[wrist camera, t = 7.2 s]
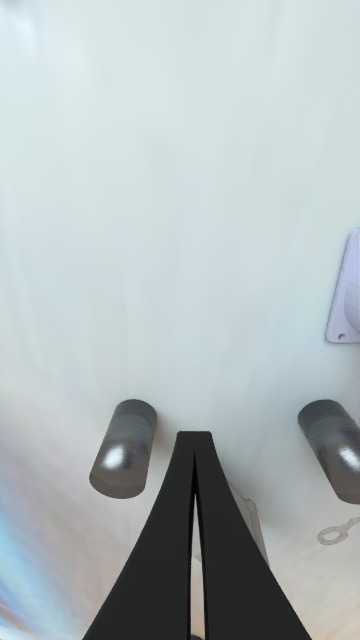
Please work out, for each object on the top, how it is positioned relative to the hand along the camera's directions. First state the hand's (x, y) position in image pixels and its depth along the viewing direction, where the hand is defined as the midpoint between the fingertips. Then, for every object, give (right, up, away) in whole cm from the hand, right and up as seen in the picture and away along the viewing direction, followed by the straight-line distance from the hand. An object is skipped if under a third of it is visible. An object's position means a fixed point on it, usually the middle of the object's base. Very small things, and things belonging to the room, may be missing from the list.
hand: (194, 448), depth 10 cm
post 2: (+12, -3, +11) cm, 17 cm away
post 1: (-5, -4, +12) cm, 14 cm away
